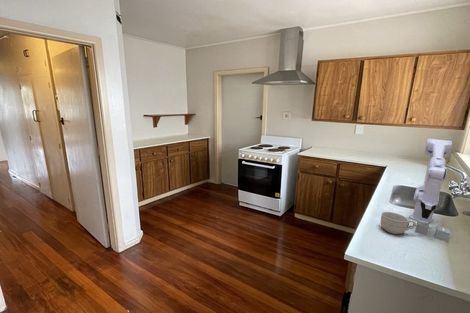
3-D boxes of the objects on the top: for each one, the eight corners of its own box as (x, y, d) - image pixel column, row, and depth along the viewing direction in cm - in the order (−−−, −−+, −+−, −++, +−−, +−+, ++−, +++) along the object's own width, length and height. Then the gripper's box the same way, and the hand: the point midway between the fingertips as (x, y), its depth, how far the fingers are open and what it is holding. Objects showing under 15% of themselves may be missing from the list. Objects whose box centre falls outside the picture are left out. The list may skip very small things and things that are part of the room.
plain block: (415, 228, 114) (417, 220, 113) (426, 232, 112) (429, 224, 110) (414, 232, 111) (416, 224, 110) (426, 236, 108) (428, 227, 107)
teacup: (377, 231, 111) (380, 216, 109) (380, 222, 119) (383, 208, 117) (413, 242, 102) (417, 226, 101) (413, 232, 111) (417, 217, 109)
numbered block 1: (434, 234, 110) (437, 225, 109) (447, 238, 107) (449, 229, 106) (434, 238, 107) (437, 229, 106) (447, 242, 104) (450, 233, 103)
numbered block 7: (398, 222, 119) (400, 214, 118) (408, 226, 117) (410, 217, 115) (397, 226, 116) (399, 217, 115) (407, 229, 113) (410, 221, 112)
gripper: (421, 185, 114) (415, 210, 118) (419, 193, 103) (413, 220, 107) (439, 189, 110) (433, 214, 113) (440, 198, 99) (432, 226, 102)
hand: (424, 217), depth 110 cm, fingers closed
